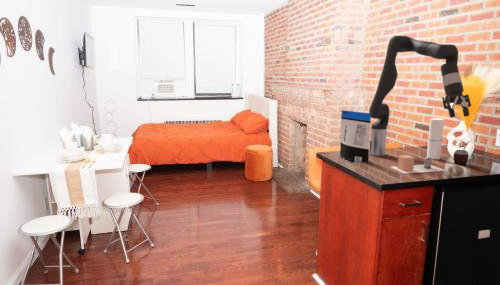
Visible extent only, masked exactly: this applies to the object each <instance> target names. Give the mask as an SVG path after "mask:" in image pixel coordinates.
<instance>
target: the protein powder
mask: <svg viewBox="0 0 500 285" xmlns="http://www.w3.org/2000/svg"><path fill="white" fill-rule="evenodd" d="M370 115H371V113H369V112H361V111H351V110H343V109H341V116H340V117H341V121H340V124H341V125H340V150H339V151H340V153H339V156H340V155H341V156H340V158H341V157H342V158H344V159H345V160H348V161H351V162H350V163H352V162H353V163H363V162H365V163H369V156H370V155H369V149H370V139H371V121H372V120H371V116H370ZM342 158H341V159H342ZM345 160H344V161H345ZM348 161H347V162H348Z"/></svg>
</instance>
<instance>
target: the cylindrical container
mask: <svg viewBox="0 0 500 285" xmlns="http://www.w3.org/2000/svg"><path fill="white" fill-rule="evenodd" d="M444 124H445V119H444V118H440V117H439V118H437V117H435V118H434V117H433V118H429V126H428V127H429V129H428V137H427V138H428V140H427V150H426V151H427V152H426V157H430V158H432V160H441V158H442V157H441V155H442V147H443V146H442V145H443V134H444Z"/></svg>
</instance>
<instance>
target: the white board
mask: <svg viewBox="0 0 500 285" xmlns="http://www.w3.org/2000/svg"><path fill="white" fill-rule="evenodd" d="M390 168H391V169H393V170H396V171H398V172H399V173H402V174H415V173H417V174H418V173H429V172H442V171H443V172H444V171H445V172H446V171H447V170H446V169H443V168H441V167H437V166H435V165H432V164H431V169H426V168H424V164H414V168H413V171H402V170H400V169H398V168H397V166H394V165H393V166H390Z"/></svg>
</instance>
